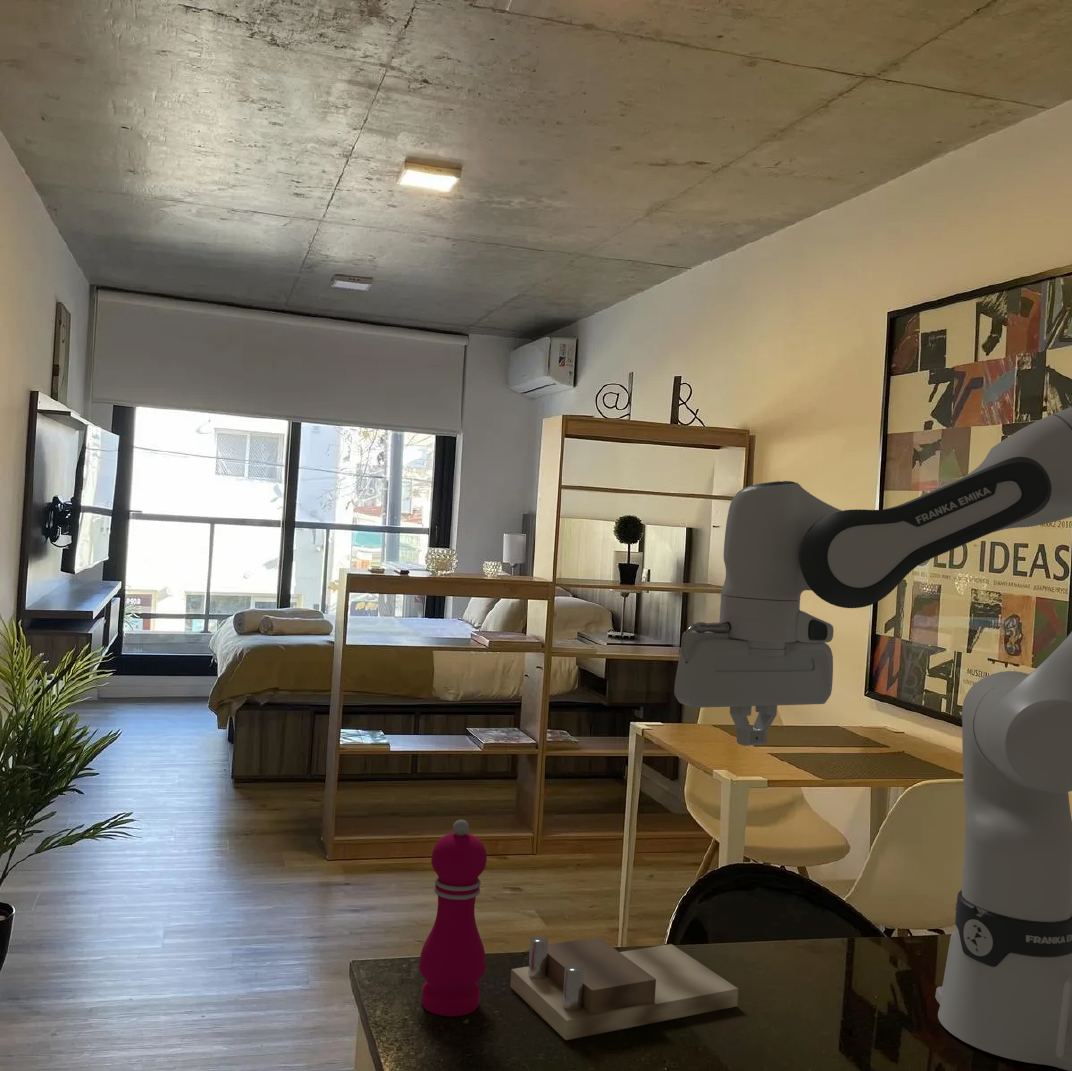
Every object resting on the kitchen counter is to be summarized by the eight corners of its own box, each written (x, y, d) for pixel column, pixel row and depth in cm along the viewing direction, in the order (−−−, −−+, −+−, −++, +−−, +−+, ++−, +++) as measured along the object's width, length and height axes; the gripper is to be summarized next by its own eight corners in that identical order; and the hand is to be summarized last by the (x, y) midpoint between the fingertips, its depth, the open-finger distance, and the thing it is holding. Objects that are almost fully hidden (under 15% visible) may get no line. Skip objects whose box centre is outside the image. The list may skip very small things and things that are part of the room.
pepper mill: (473, 1023, 107) (485, 832, 107) (407, 1013, 108) (419, 824, 108) (490, 994, 114) (501, 815, 114) (428, 984, 115) (439, 807, 115)
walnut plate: (597, 958, 120) (598, 937, 120) (654, 1002, 110) (656, 979, 110) (537, 967, 117) (538, 945, 117) (590, 1014, 106) (591, 990, 106)
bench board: (670, 960, 126) (673, 911, 126) (737, 1006, 115) (740, 952, 115) (510, 986, 116) (513, 933, 116) (565, 1040, 104) (569, 981, 104)
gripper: (701, 624, 109) (693, 754, 109) (844, 627, 118) (837, 746, 118) (667, 618, 114) (659, 742, 114) (807, 621, 124) (800, 735, 124)
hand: (751, 744), depth 116 cm, fingers closed
